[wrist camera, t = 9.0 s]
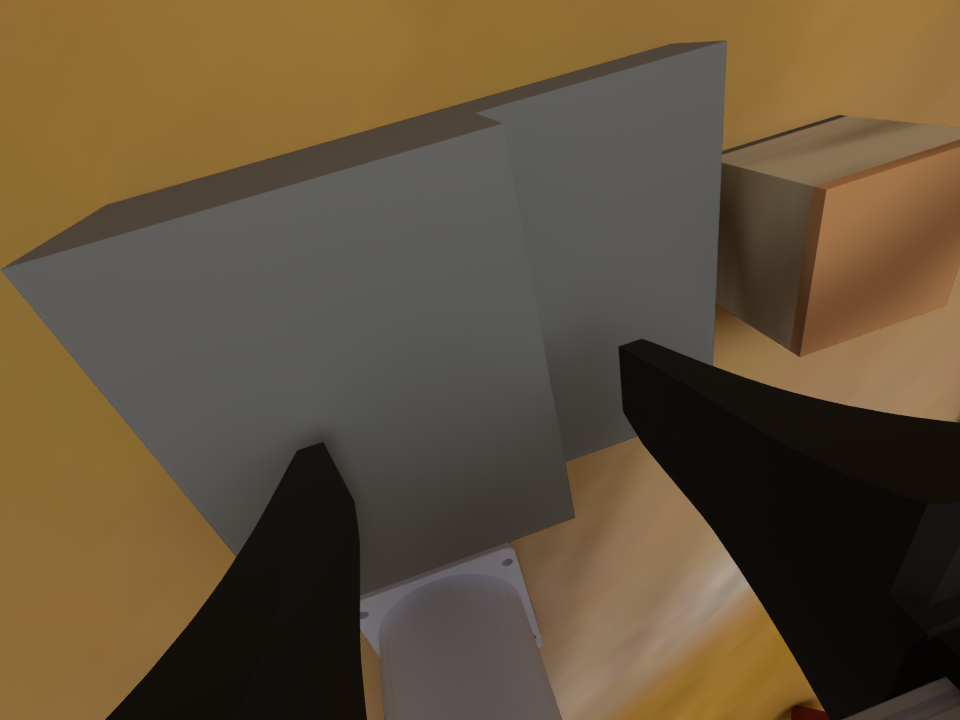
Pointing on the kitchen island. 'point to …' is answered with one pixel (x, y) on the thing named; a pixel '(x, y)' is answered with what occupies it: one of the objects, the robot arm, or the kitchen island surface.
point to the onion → (808, 714)
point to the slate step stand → (409, 304)
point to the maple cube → (838, 228)
